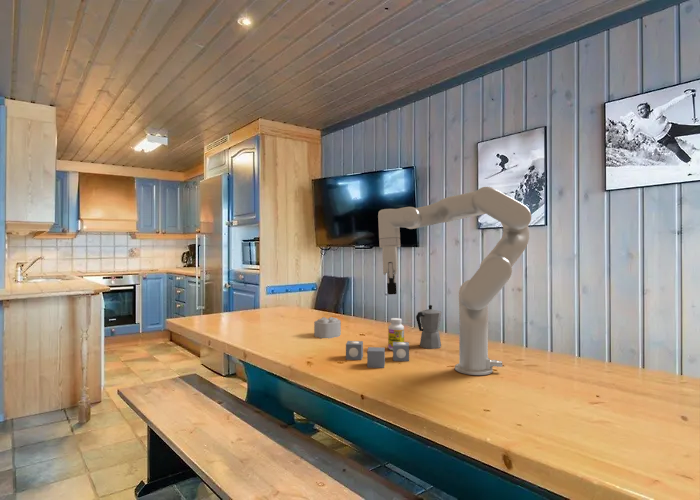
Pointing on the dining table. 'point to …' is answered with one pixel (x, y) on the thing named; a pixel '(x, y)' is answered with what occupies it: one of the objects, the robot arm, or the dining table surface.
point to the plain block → (375, 357)
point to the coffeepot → (429, 328)
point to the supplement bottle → (395, 332)
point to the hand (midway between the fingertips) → (392, 294)
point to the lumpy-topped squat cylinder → (327, 328)
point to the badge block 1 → (354, 350)
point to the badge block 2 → (400, 351)
